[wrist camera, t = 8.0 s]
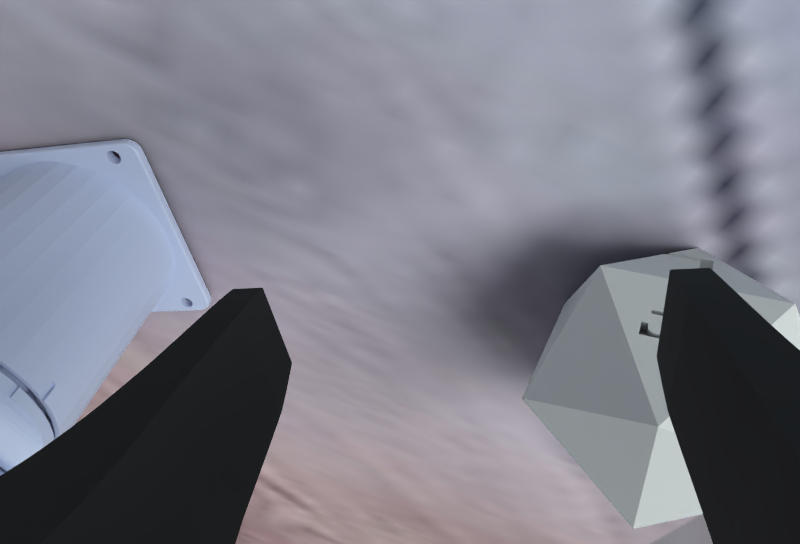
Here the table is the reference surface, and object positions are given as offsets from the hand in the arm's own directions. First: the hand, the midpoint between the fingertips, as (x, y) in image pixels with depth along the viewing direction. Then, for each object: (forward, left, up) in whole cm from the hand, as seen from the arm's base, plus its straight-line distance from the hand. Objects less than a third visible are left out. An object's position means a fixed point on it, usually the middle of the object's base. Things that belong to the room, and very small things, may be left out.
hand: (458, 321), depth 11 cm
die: (+6, -9, -11) cm, 15 cm away
